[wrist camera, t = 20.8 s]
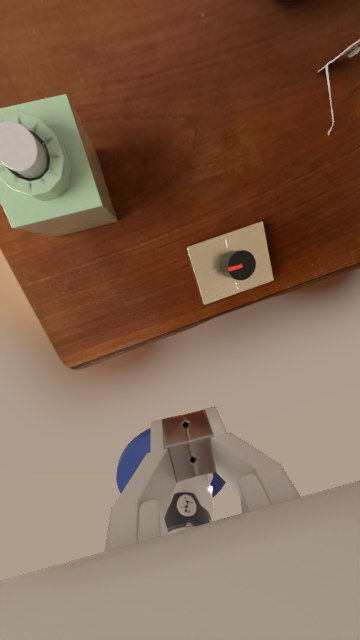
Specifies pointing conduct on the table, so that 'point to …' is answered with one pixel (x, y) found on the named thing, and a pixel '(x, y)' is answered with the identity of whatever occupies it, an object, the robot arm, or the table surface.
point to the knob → (238, 264)
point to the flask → (56, 174)
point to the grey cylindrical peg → (21, 150)
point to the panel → (210, 253)
